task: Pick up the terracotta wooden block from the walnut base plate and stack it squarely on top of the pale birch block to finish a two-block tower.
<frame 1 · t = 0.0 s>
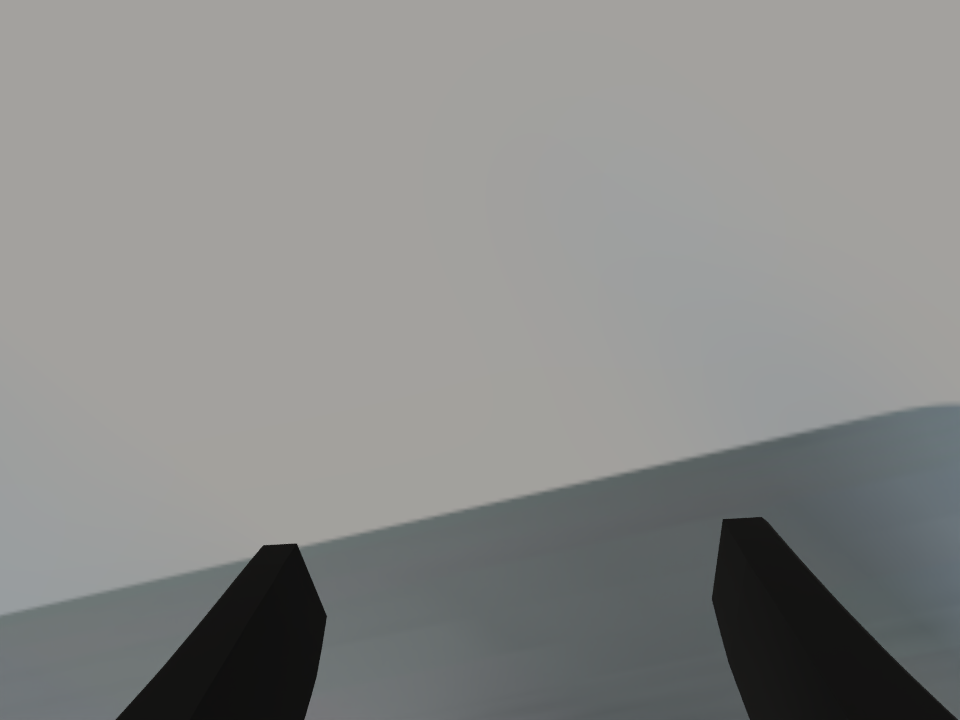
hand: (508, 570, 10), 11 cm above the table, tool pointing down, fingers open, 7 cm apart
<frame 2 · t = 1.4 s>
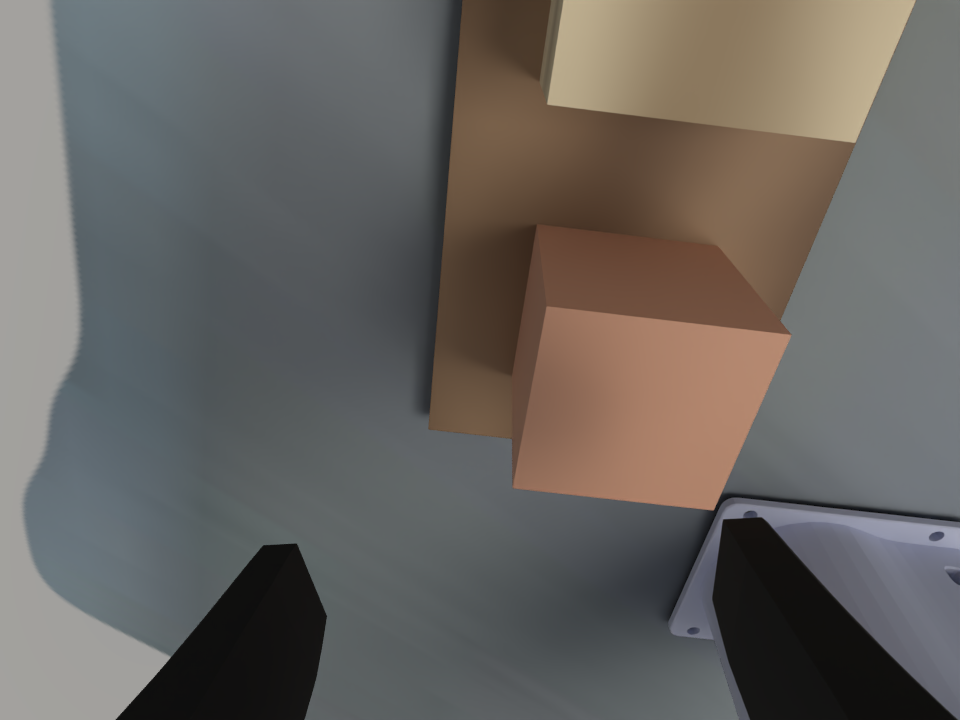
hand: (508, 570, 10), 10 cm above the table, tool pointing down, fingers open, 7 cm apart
terracotta block: (607, 315, 18), point 1 cm above the table, touching base plate
base plate: (635, 172, 16), on the table
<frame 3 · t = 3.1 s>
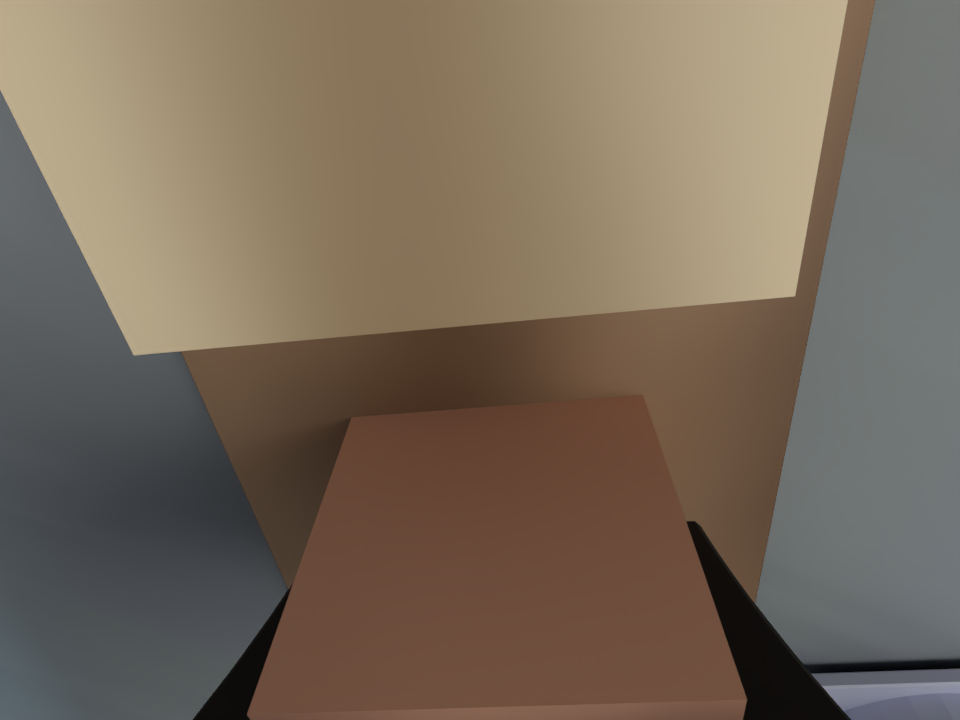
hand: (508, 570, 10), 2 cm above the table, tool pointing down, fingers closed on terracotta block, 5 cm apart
terracotta block: (507, 510, 11), point 1 cm above the table, touching base plate, gripper
base plate: (485, 306, 10), on the table
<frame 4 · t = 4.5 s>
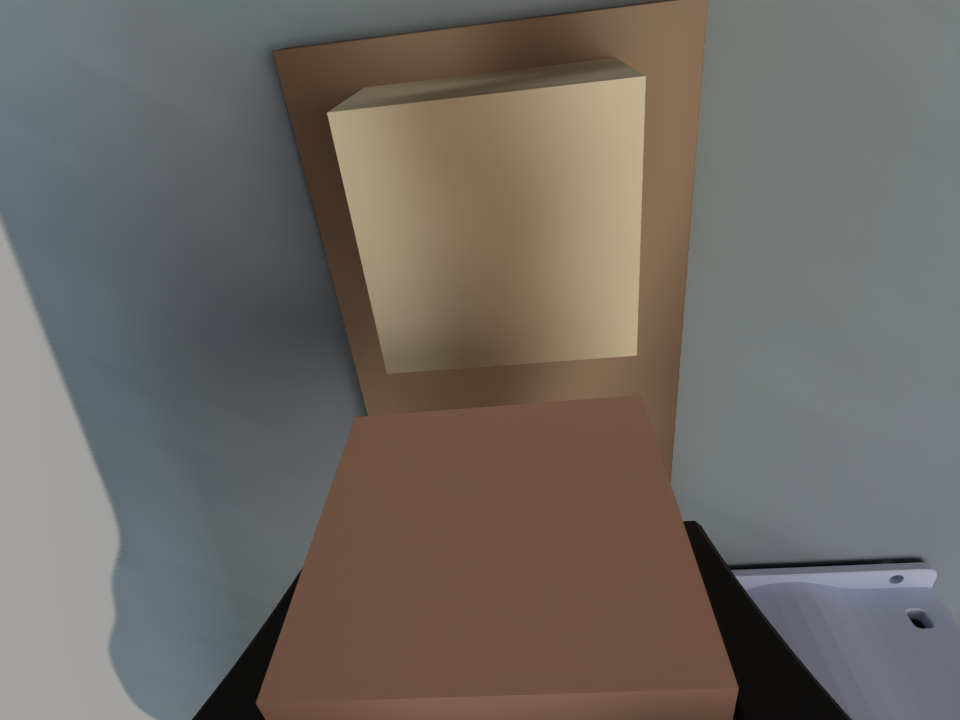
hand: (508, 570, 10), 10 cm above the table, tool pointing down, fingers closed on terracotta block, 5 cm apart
birch block: (499, 198, 16), point 1 cm above the table, touching base plate
terracotta block: (508, 508, 12), point 8 cm above the table, touching gripper
base plate: (514, 345, 19), on the table
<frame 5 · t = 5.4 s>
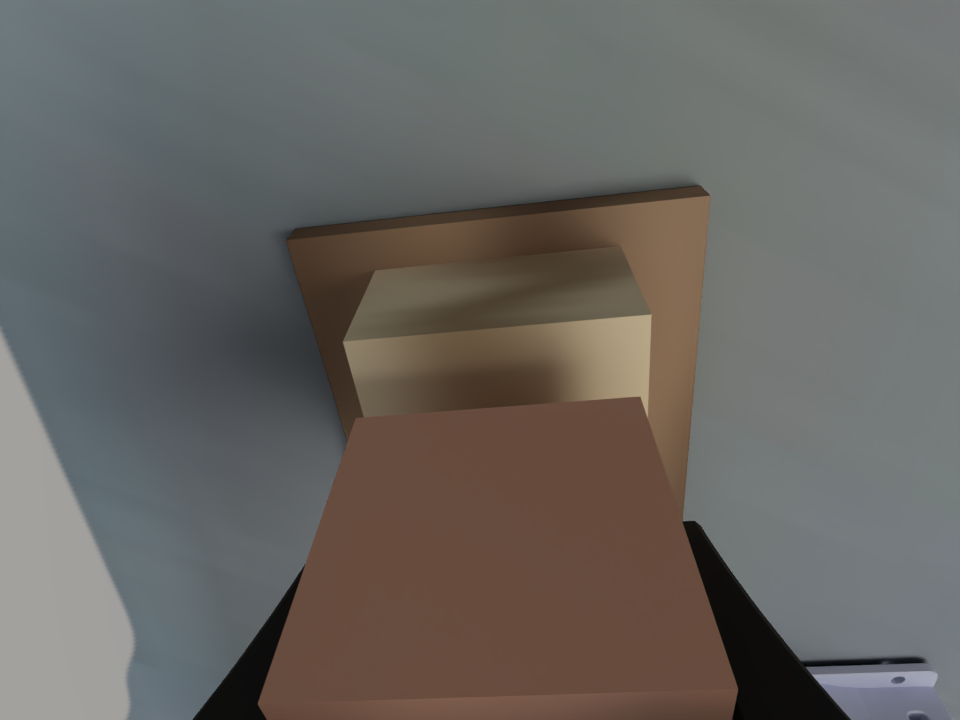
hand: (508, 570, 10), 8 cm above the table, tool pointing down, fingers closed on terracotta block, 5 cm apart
birch block: (507, 362, 16), point 1 cm above the table, touching base plate
terracotta block: (508, 509, 12), point 6 cm above the table, touching gripper
base plate: (521, 478, 19), on the table
when the fingers open (7 cm above the table, at t = 5.9 s): terracotta block drops 1 cm, resting on birch block.
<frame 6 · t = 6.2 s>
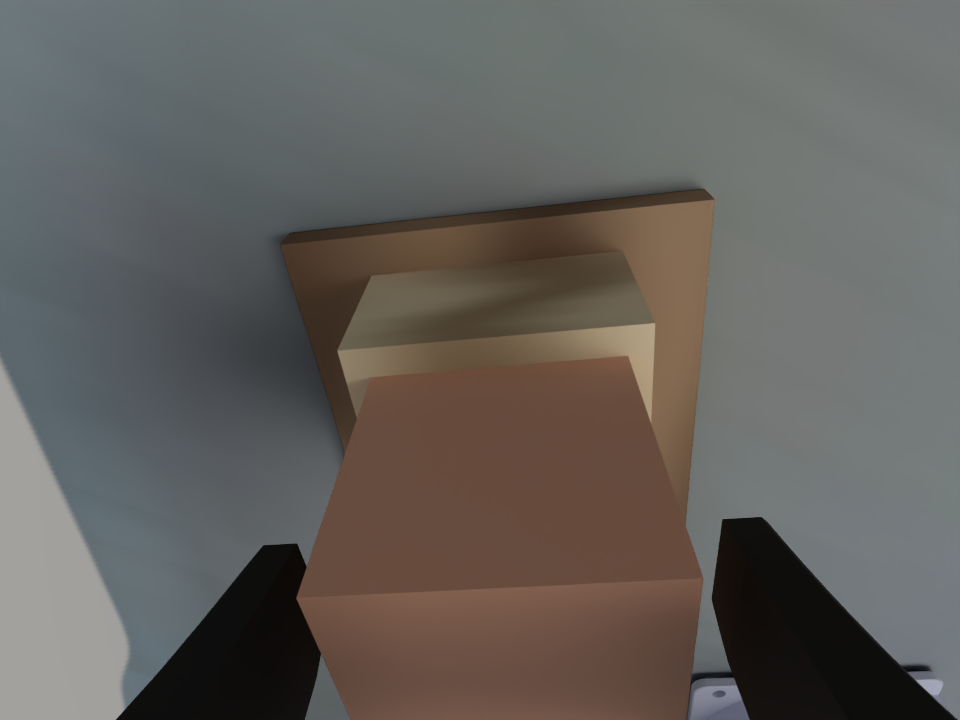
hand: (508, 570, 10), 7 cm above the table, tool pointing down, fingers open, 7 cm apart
birch block: (506, 368, 16), point 1 cm above the table, touching base plate, terracotta block
terracotta block: (509, 463, 13), point 4 cm above the table, touching birch block
base plate: (521, 485, 19), on the table
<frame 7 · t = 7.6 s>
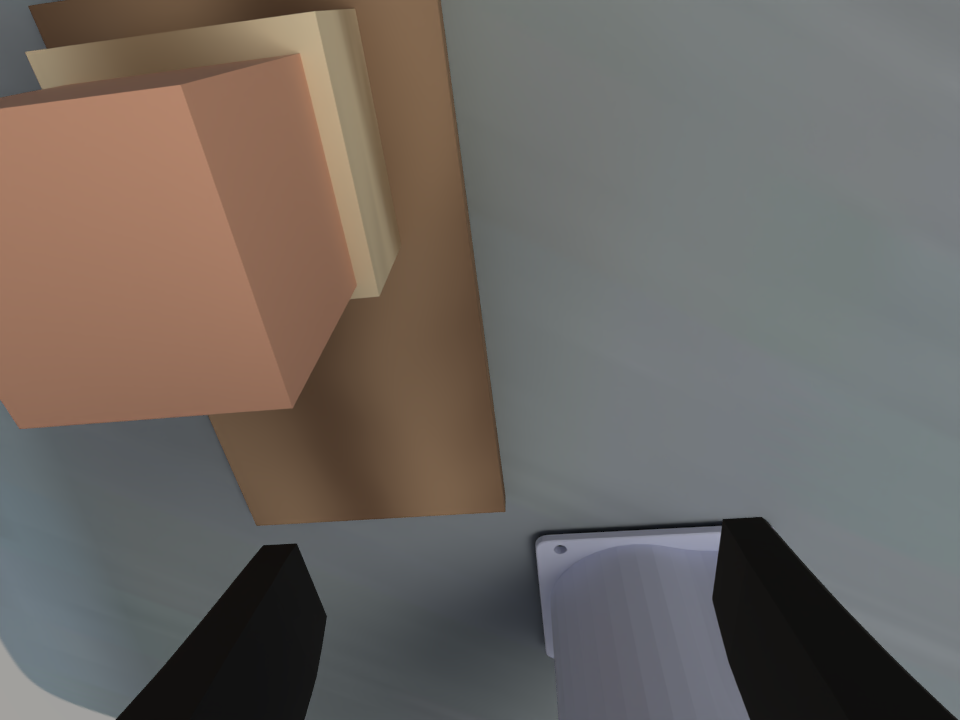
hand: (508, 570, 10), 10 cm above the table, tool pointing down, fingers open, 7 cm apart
birch block: (272, 151, 16), point 1 cm above the table, touching base plate, terracotta block
terracotta block: (222, 193, 13), point 4 cm above the table, touching birch block
base plate: (326, 303, 19), on the table
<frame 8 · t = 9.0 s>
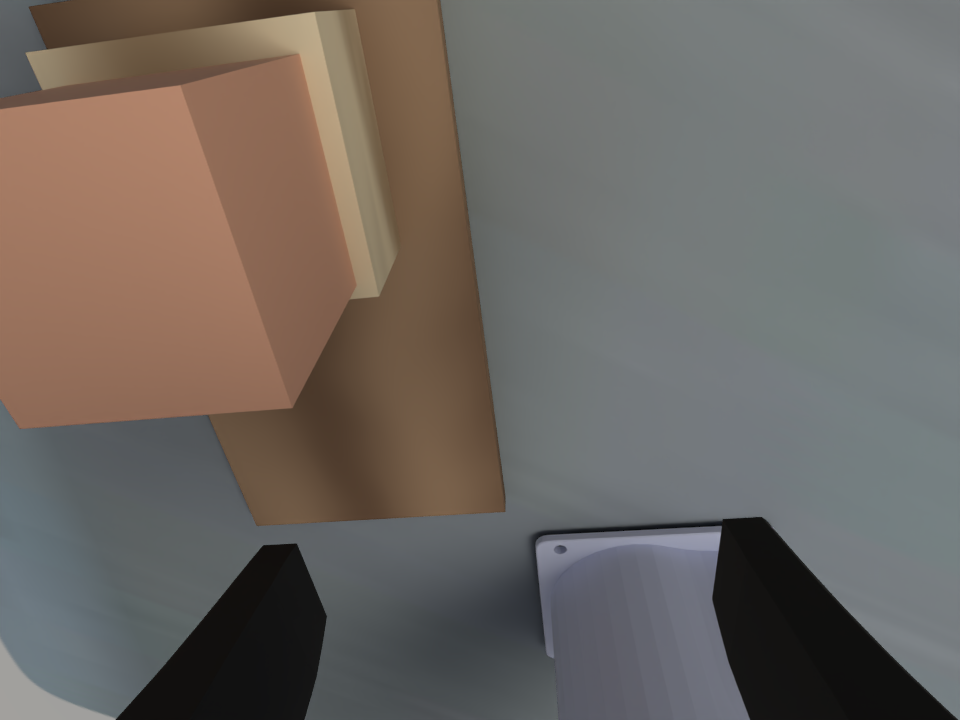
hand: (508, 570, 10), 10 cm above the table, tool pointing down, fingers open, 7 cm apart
birch block: (272, 151, 16), point 1 cm above the table, touching base plate, terracotta block
terracotta block: (222, 193, 13), point 4 cm above the table, touching birch block
base plate: (326, 304, 19), on the table
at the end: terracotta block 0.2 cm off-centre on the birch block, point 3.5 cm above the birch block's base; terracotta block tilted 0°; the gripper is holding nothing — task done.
